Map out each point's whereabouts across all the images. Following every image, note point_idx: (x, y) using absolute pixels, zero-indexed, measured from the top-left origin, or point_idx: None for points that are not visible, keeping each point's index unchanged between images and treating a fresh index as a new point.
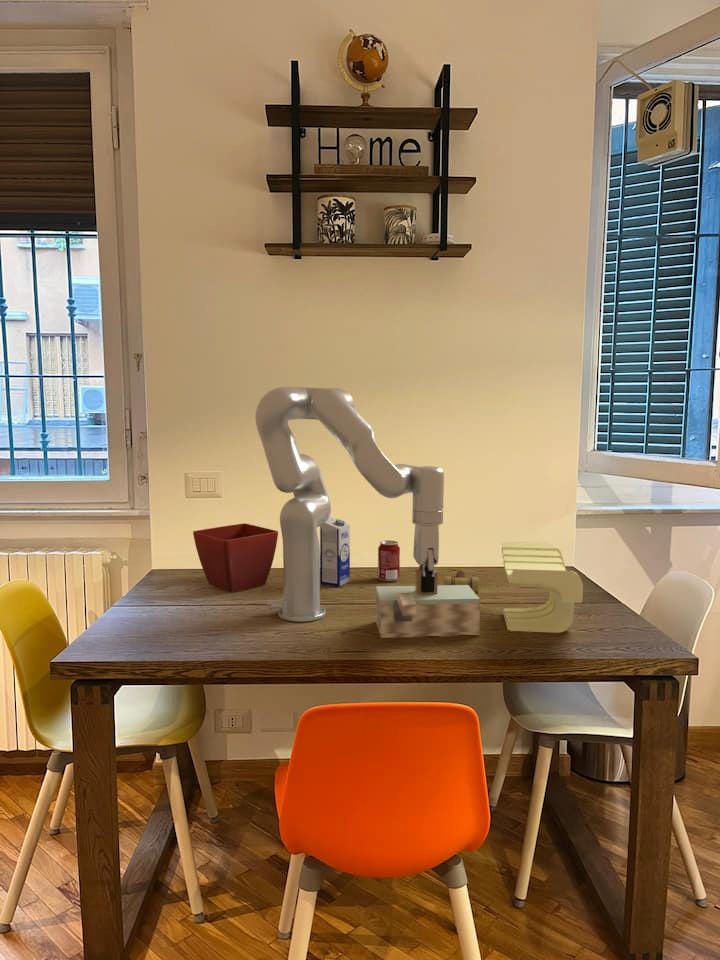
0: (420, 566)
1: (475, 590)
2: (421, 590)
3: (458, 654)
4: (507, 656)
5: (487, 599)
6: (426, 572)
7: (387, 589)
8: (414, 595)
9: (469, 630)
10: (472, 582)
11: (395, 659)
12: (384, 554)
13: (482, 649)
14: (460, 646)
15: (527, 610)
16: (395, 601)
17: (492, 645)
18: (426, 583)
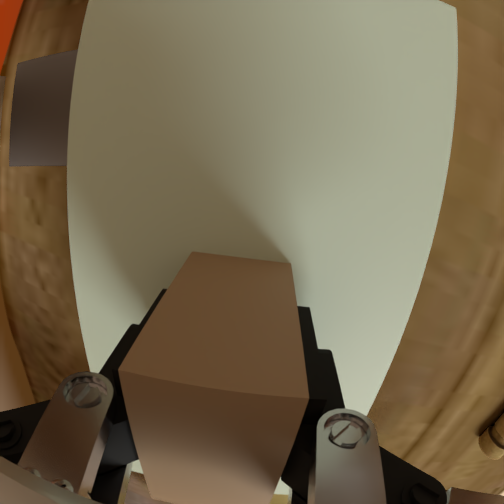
0: (314, 472)
1: (482, 437)
2: (161, 292)
3: (24, 268)
4: (34, 364)
5: (433, 450)
6: (4, 412)
7: (374, 47)
8: (163, 221)
9: None
10: (494, 445)
11: (6, 86)
12: None
13: (60, 339)
14: (72, 296)
15: (275, 500)
16: (60, 61)
17: (88, 371)
18: (115, 357)
